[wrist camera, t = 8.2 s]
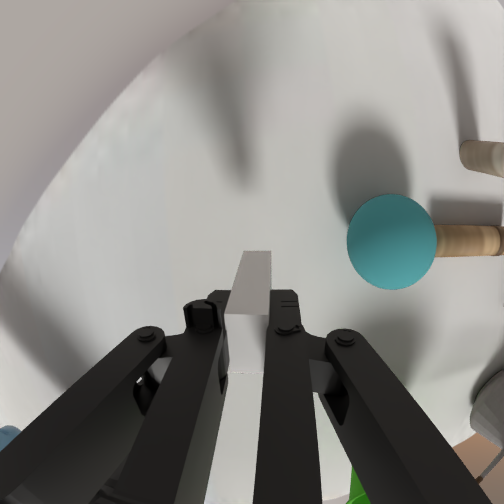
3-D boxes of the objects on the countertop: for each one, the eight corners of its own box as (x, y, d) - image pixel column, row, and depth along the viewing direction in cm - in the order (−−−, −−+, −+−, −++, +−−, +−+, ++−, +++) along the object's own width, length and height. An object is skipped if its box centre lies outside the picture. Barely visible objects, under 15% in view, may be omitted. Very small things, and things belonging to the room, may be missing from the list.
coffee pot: (529, 340, 22) (584, 412, 8) (519, 388, 25) (556, 452, 11) (393, 421, 27) (418, 525, 13) (403, 454, 30) (420, 535, 16)
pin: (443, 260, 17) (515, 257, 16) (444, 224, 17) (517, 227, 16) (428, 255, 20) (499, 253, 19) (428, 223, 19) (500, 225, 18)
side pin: (458, 168, 17) (532, 187, 9) (459, 137, 16) (534, 142, 8) (480, 172, 17) (552, 193, 9) (481, 142, 16) (554, 151, 8)
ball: (448, 298, 14) (410, 267, 20) (456, 198, 13) (412, 190, 19) (359, 311, 15) (338, 274, 21) (360, 200, 13) (336, 192, 19)
